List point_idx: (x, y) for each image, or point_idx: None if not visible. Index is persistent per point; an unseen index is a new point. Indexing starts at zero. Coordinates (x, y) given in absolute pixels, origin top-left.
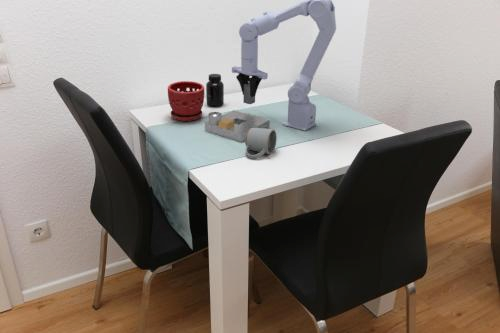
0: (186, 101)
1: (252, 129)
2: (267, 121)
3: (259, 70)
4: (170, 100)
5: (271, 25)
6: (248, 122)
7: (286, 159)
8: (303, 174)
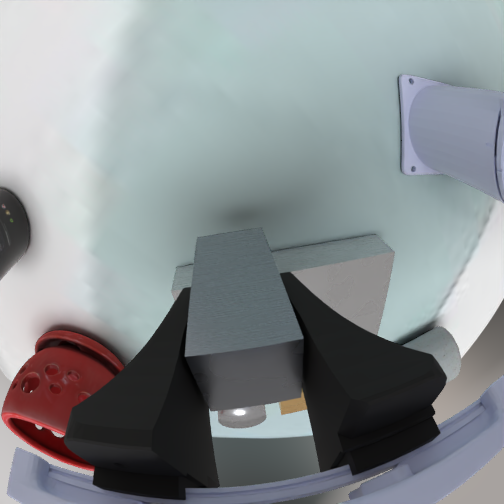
0: None
1: None
2: (391, 266)
3: (447, 493)
4: None
5: None
6: None
7: (458, 325)
8: (479, 331)
